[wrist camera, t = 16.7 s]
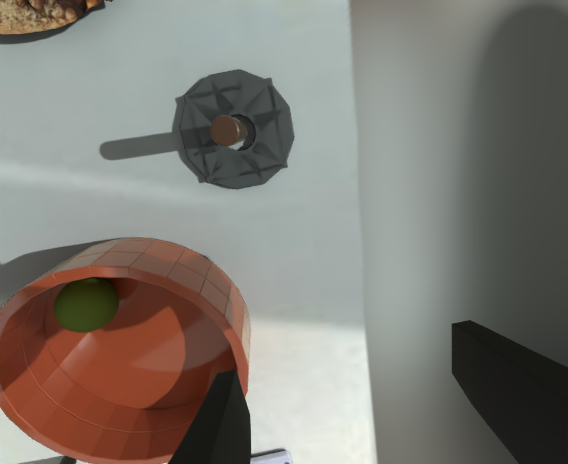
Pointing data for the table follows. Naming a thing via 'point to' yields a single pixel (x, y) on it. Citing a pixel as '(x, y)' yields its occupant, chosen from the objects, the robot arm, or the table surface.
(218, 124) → the stick
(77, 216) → the table surface
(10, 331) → the bowl
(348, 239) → the table surface
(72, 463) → the stand
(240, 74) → the holder
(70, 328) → the olive
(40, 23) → the cactus
